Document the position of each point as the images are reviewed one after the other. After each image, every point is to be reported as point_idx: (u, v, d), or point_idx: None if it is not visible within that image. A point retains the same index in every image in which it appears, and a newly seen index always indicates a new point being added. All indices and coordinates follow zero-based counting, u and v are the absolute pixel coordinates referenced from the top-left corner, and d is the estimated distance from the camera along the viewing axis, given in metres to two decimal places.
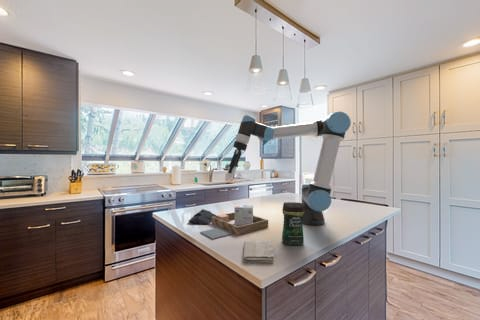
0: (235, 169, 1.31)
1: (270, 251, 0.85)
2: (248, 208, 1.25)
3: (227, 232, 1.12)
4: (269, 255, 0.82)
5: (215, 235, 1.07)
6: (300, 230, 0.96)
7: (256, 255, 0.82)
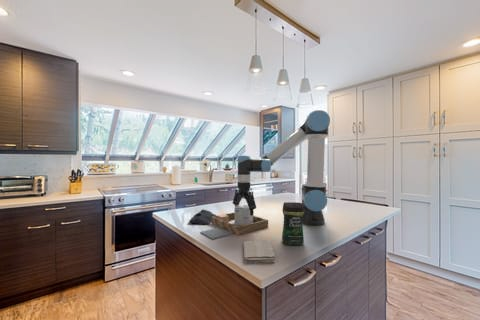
0: None
1: (270, 251, 0.85)
2: (248, 208, 1.25)
3: (227, 232, 1.12)
4: (270, 255, 0.82)
5: (215, 235, 1.07)
6: (300, 230, 0.96)
7: (257, 255, 0.82)
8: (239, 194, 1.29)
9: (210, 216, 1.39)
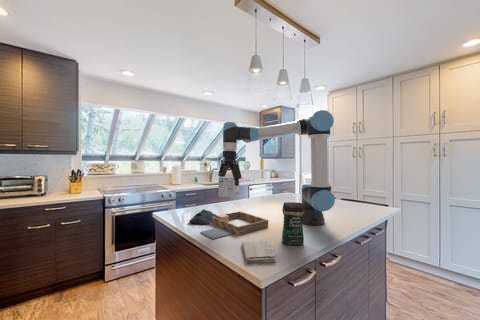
0: None
1: (271, 250, 0.85)
2: (233, 178, 1.16)
3: (227, 232, 1.12)
4: (271, 254, 0.83)
5: (215, 235, 1.07)
6: (300, 230, 0.96)
7: (258, 255, 0.82)
8: (224, 164, 1.20)
9: (210, 216, 1.38)
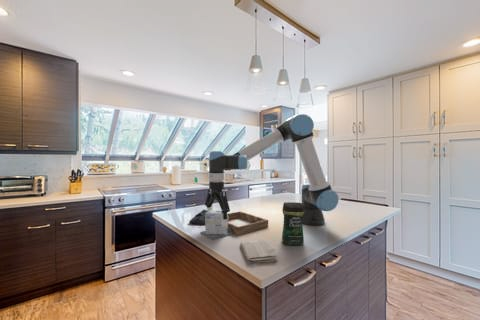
0: None
1: (271, 250, 0.86)
2: None
3: (227, 232, 1.12)
4: (272, 254, 0.83)
5: (215, 235, 1.07)
6: (300, 230, 0.96)
7: (260, 255, 0.82)
8: (211, 195, 1.12)
9: None
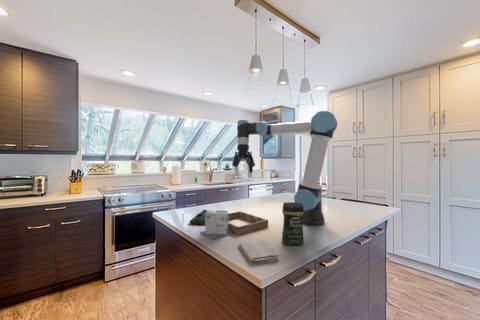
0: (238, 168, 1.46)
1: (272, 249, 0.86)
2: (221, 214, 1.08)
3: (227, 232, 1.12)
4: (273, 253, 0.83)
5: (215, 235, 1.07)
6: (300, 230, 0.96)
7: (261, 255, 0.82)
8: (239, 155, 1.41)
9: None
